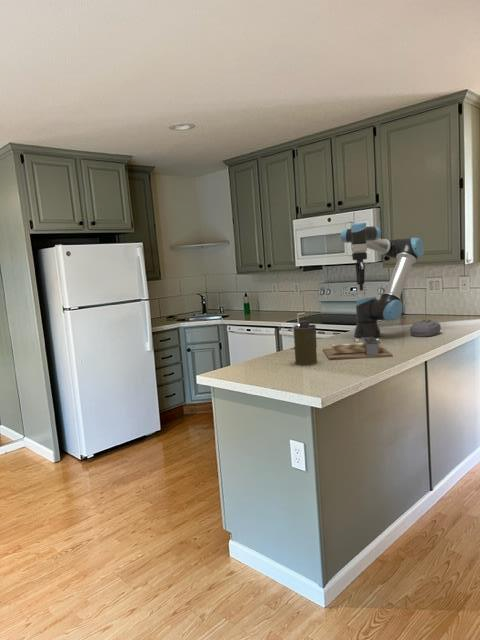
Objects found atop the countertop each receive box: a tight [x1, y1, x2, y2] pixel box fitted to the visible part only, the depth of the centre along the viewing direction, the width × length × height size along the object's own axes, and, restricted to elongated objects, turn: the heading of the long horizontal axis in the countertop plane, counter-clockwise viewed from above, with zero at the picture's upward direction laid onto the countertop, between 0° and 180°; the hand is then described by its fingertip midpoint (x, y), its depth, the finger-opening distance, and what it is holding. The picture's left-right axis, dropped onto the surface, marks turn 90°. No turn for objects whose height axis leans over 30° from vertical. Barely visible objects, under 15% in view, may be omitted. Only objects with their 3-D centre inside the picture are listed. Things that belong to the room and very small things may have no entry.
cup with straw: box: [290, 312, 307, 336], centre depth 263 cm, size 8×9×20 cm
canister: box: [292, 320, 318, 366], centre depth 226 cm, size 11×10×20 cm
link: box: [331, 341, 384, 354], centre depth 237 cm, size 24×5×4 cm, turn 85°
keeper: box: [360, 337, 379, 356], centre depth 234 cm, size 12×6×7 cm, turn 178°
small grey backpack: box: [409, 319, 442, 338], centre depth 279 cm, size 15×8×20 cm
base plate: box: [322, 347, 394, 361], centre depth 240 cm, size 24×30×1 cm
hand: (361, 296), depth 259 cm, fingers closed
